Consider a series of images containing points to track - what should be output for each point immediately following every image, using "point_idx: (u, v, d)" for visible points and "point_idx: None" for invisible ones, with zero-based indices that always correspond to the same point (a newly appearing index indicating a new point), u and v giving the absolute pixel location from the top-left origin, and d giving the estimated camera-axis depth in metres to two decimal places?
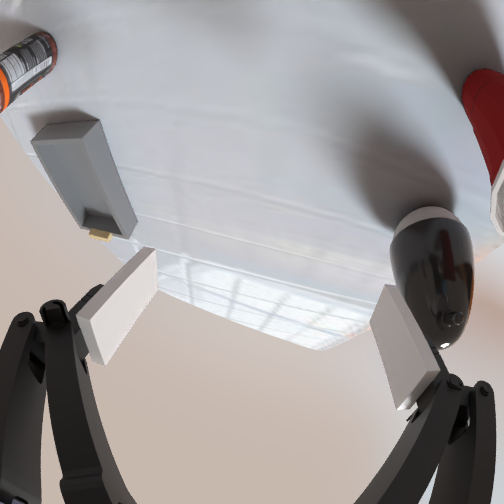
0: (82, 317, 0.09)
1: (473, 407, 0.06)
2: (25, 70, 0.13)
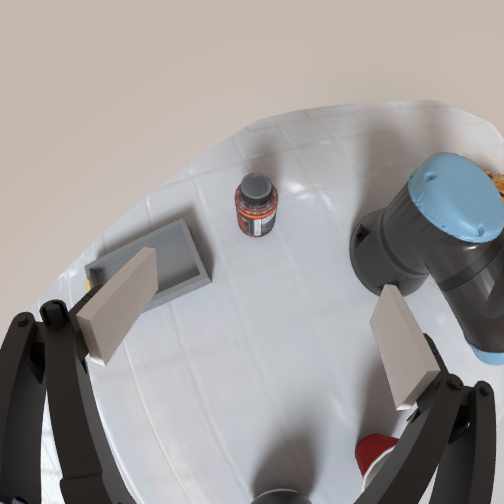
0: (82, 317, 0.09)
1: (473, 407, 0.06)
2: (262, 224, 0.39)
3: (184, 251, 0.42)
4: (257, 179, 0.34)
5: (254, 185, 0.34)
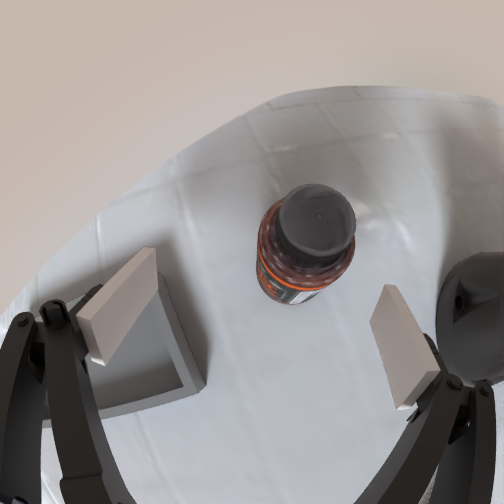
0: (82, 317, 0.09)
1: (473, 407, 0.06)
2: (313, 294, 0.18)
3: (154, 327, 0.21)
4: (321, 202, 0.13)
5: (314, 217, 0.13)
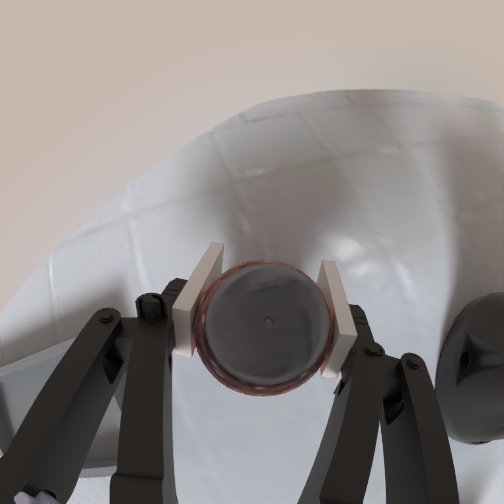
0: (180, 309, 0.10)
1: (404, 384, 0.08)
2: None
3: None
4: (273, 296, 0.08)
5: (260, 325, 0.08)
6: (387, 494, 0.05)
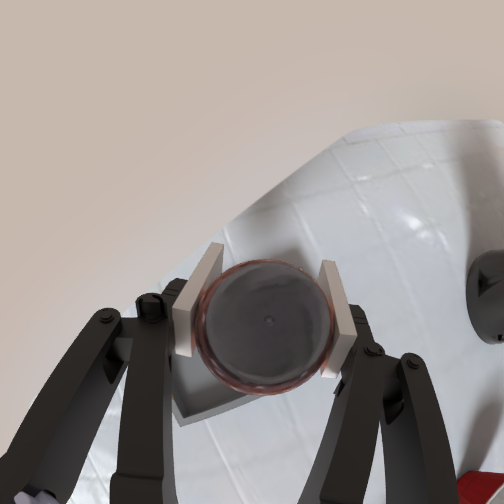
0: (180, 309, 0.10)
1: (404, 384, 0.08)
2: None
3: None
4: (274, 295, 0.08)
5: (261, 324, 0.08)
6: (387, 494, 0.05)
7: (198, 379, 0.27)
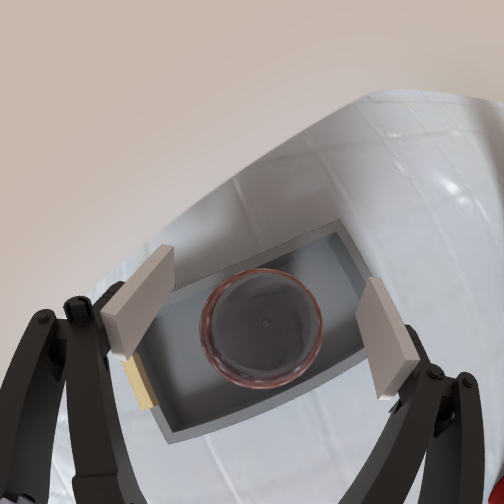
0: (107, 313, 0.09)
1: (457, 400, 0.07)
2: None
3: (336, 284, 0.22)
4: (270, 301, 0.10)
5: (258, 326, 0.10)
6: None
7: (195, 376, 0.19)
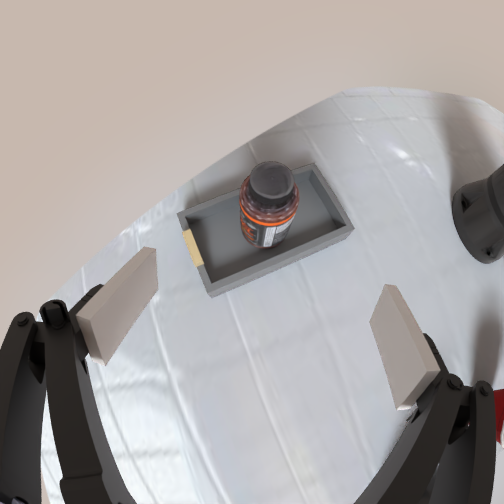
0: (82, 317, 0.09)
1: (473, 407, 0.06)
2: (276, 233, 0.28)
3: (313, 202, 0.35)
4: (273, 170, 0.23)
5: (269, 179, 0.23)
6: None
7: (225, 253, 0.33)
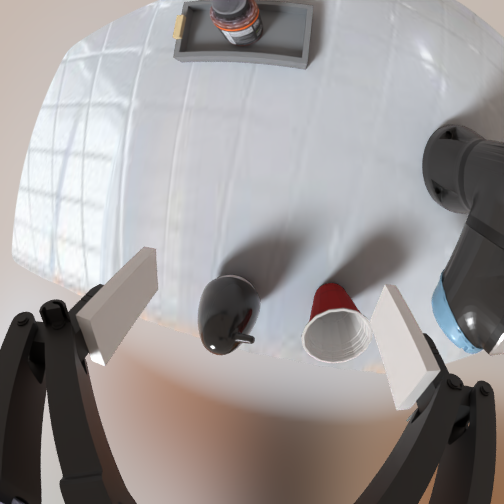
0: (82, 317, 0.09)
1: (473, 407, 0.06)
2: (233, 36, 0.26)
3: (296, 31, 0.29)
4: None
5: (226, 1, 0.20)
6: None
7: (205, 37, 0.31)
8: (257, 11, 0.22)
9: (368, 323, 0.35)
